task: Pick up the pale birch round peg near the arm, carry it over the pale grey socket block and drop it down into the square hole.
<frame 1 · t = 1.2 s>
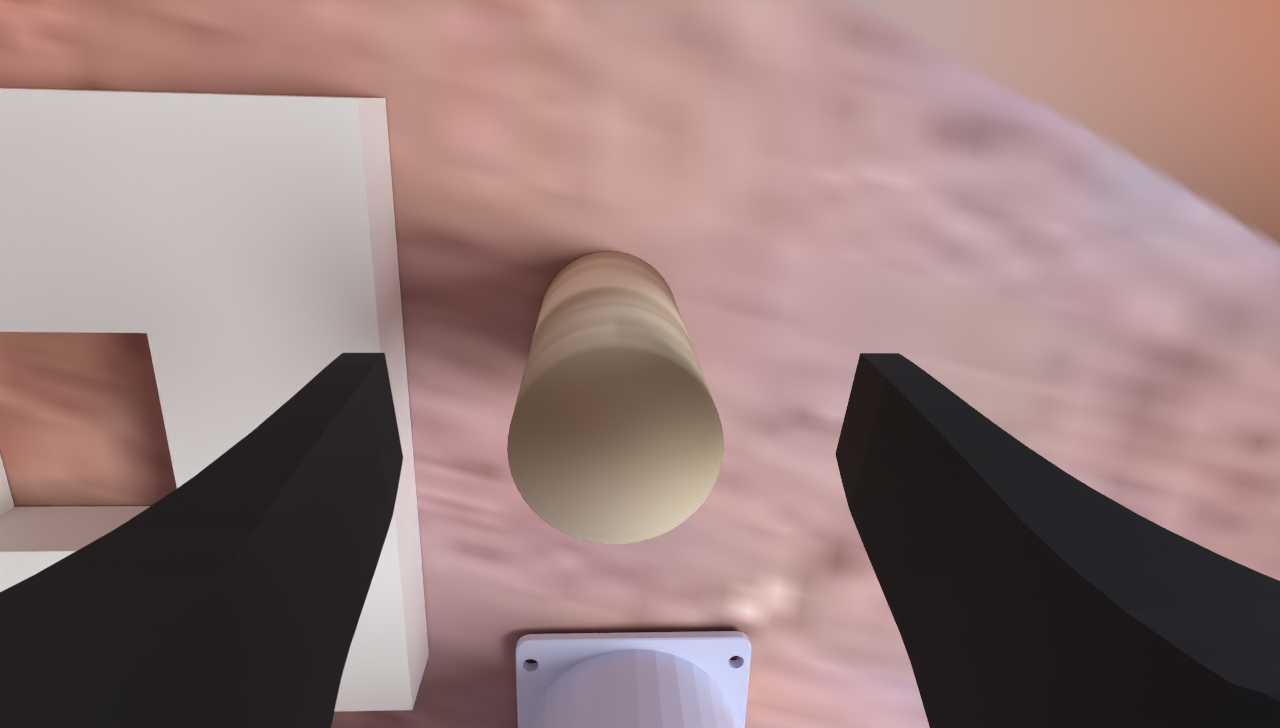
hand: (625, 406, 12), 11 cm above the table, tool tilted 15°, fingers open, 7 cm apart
peg: (608, 318, 23), on the table
socket: (101, 410, 23), on the table
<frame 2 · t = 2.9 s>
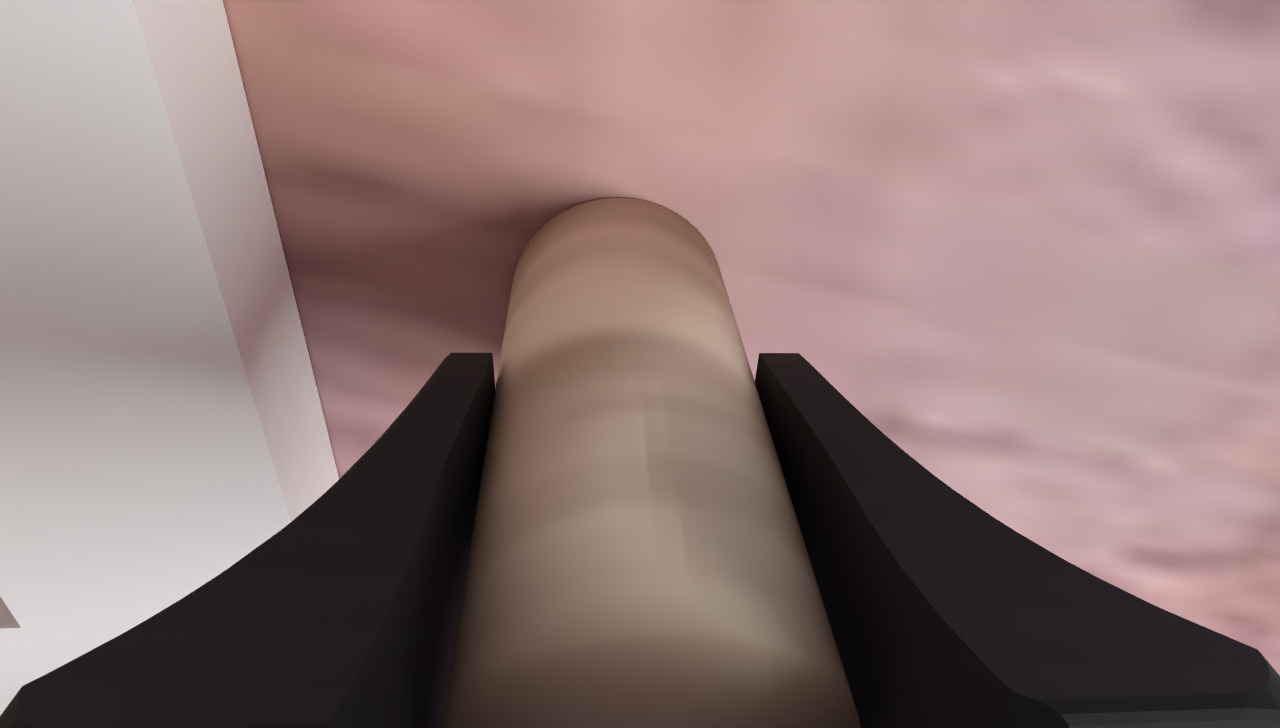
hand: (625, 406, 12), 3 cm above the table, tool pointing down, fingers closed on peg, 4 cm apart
peg: (617, 296, 15), on the table, touching gripper
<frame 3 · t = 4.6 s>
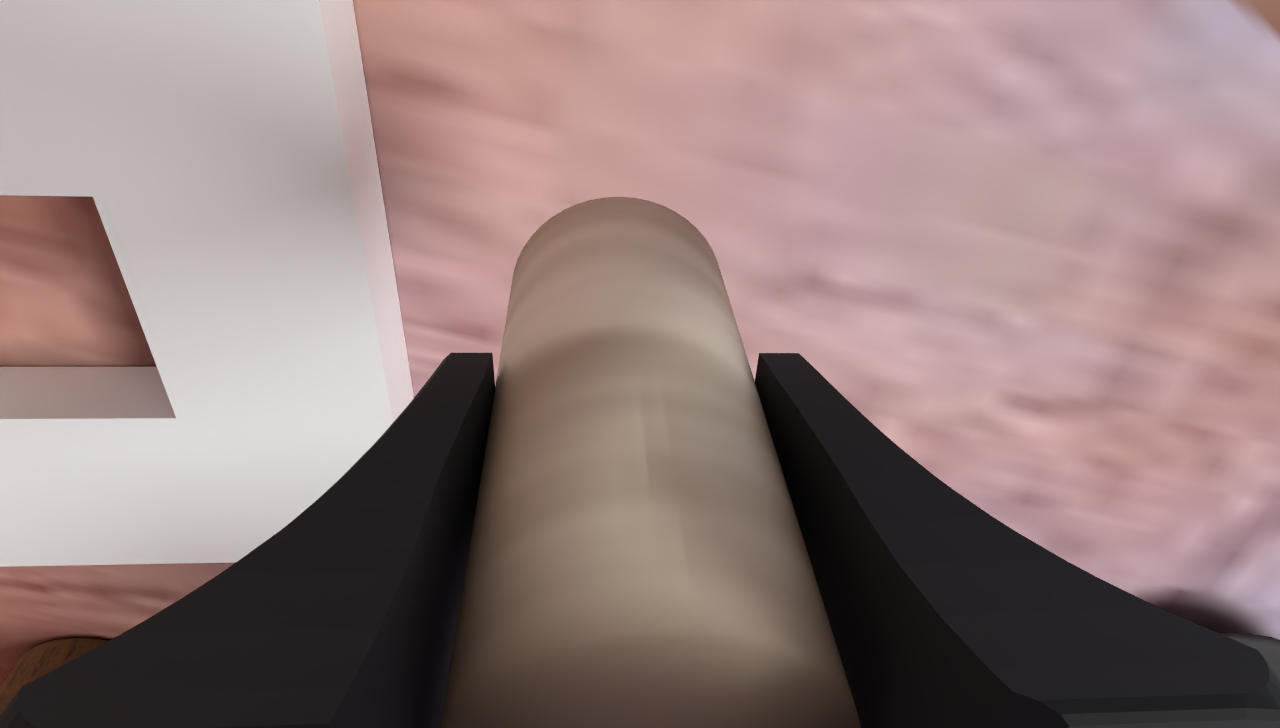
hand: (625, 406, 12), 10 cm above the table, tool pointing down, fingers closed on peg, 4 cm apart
peg: (617, 295, 15), point 7 cm above the table, touching gripper
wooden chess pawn: (111, 680, 32), on the table
socket: (60, 270, 21), on the table
when the fingers open (4 cm above the table, at t = 7.2 s): peg stays where it is, resting in socket.
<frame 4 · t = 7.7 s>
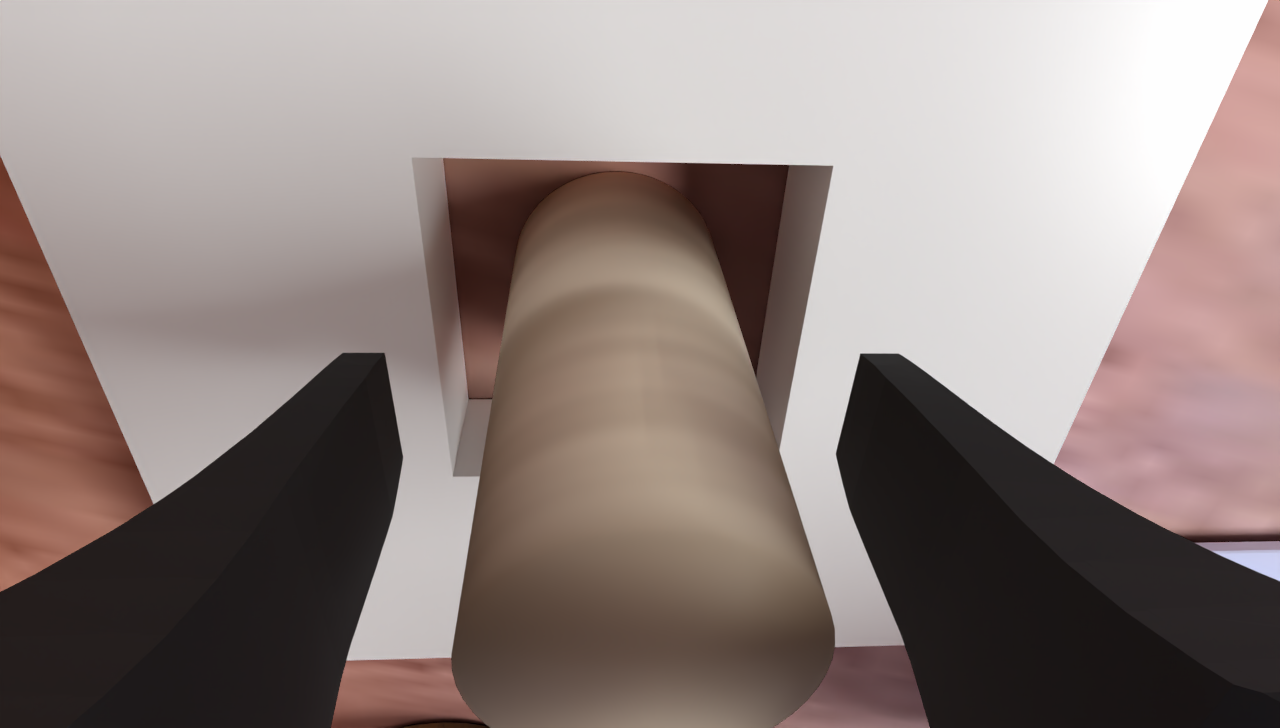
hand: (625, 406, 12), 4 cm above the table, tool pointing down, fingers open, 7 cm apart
peg: (615, 267, 15), resting in socket
socket: (615, 272, 15), on the table
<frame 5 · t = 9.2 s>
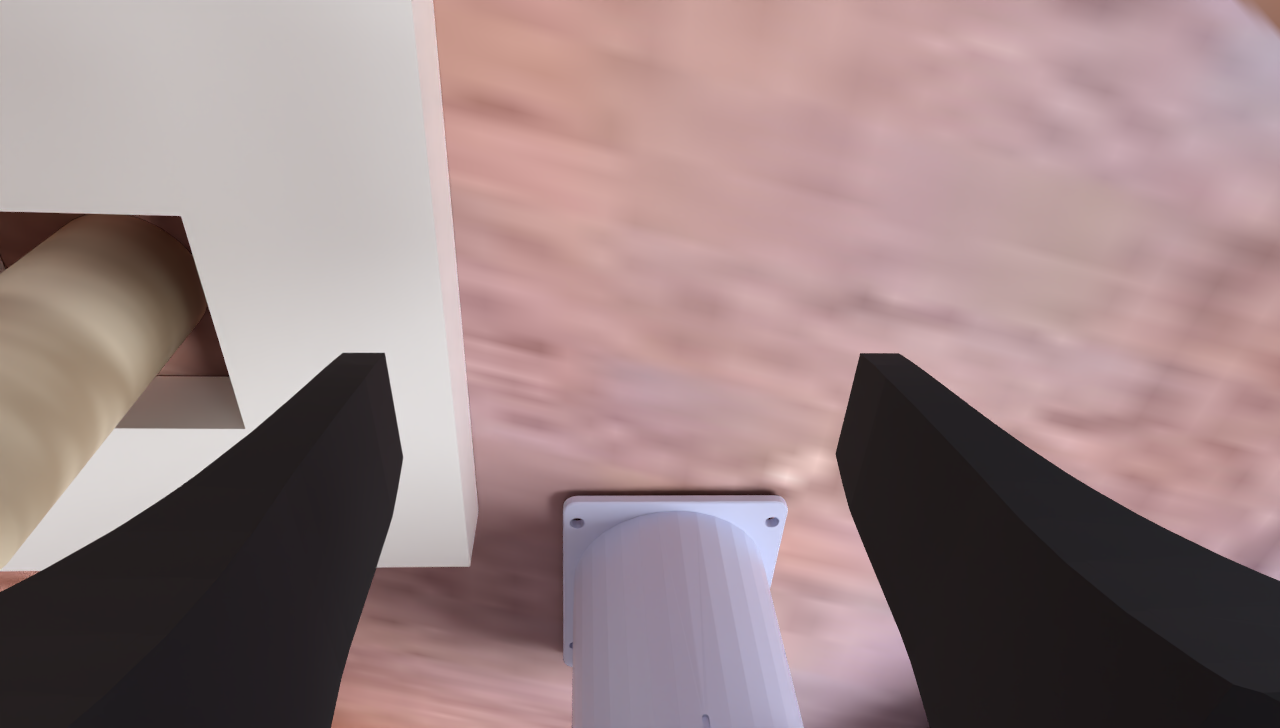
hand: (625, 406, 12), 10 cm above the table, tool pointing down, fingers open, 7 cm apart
peg: (131, 279, 21), resting in socket
socket: (132, 283, 21), on the table
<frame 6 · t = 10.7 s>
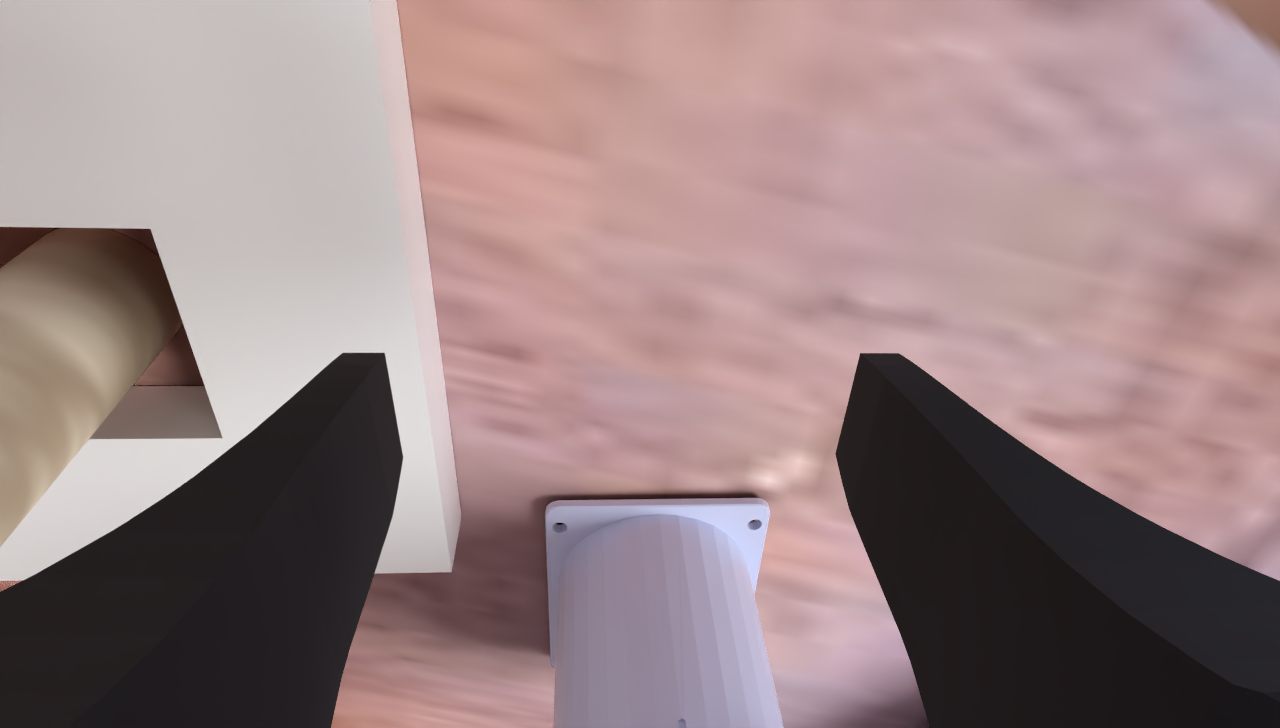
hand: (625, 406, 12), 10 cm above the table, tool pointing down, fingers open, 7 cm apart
peg: (108, 291, 22), resting in socket
socket: (109, 294, 22), on the table
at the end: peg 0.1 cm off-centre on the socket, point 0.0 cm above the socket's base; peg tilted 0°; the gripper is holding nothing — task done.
